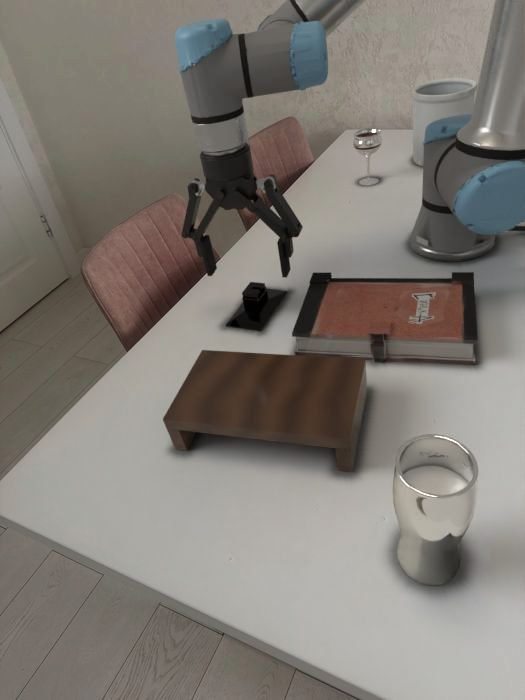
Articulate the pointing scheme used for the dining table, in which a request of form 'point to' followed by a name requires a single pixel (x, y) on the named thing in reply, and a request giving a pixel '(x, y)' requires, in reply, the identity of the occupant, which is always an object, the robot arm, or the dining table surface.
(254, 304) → the build plate
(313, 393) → the shelf
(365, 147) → the wineglass
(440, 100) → the utensil holder
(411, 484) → the beer glass
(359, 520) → the dining table surface
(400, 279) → the book
